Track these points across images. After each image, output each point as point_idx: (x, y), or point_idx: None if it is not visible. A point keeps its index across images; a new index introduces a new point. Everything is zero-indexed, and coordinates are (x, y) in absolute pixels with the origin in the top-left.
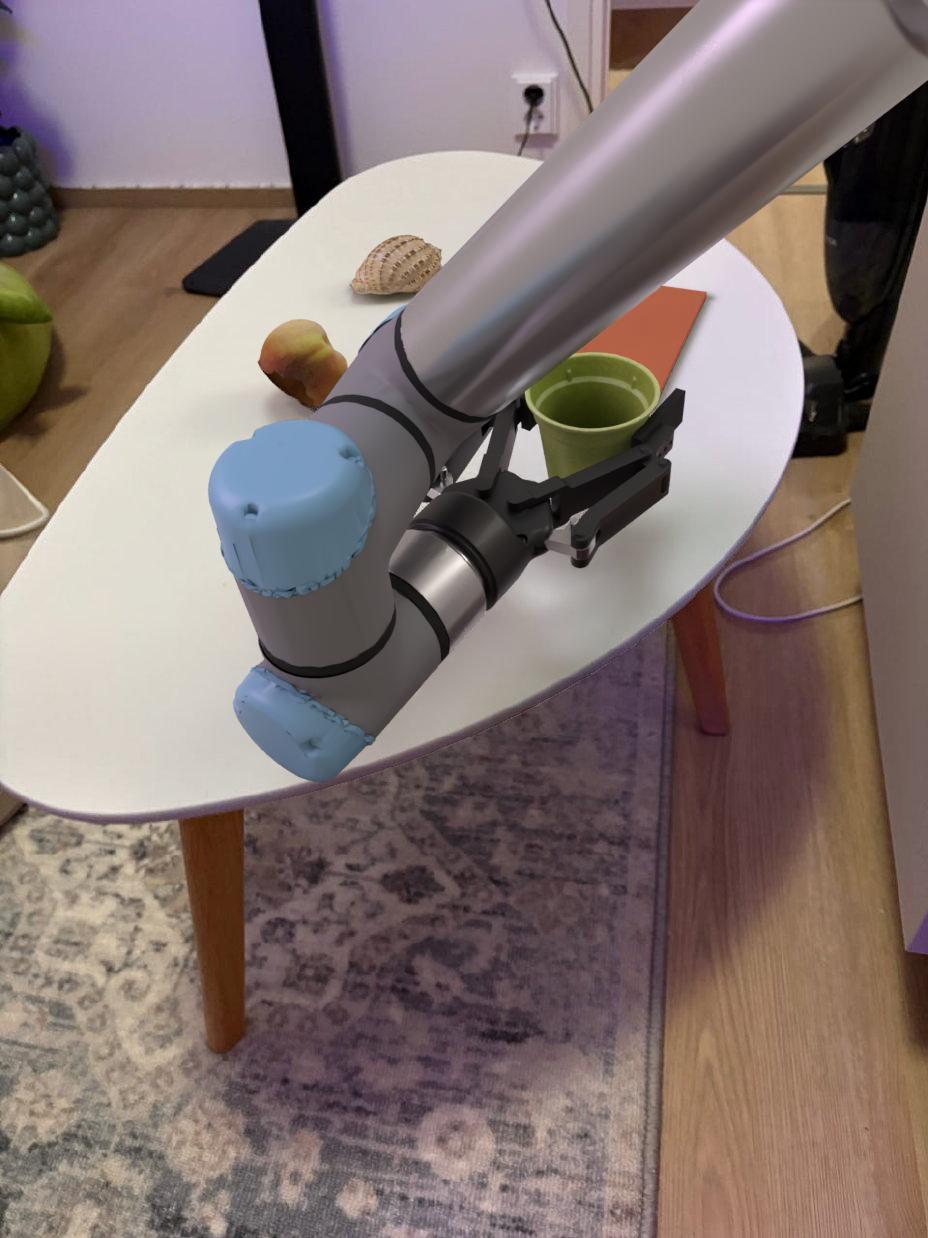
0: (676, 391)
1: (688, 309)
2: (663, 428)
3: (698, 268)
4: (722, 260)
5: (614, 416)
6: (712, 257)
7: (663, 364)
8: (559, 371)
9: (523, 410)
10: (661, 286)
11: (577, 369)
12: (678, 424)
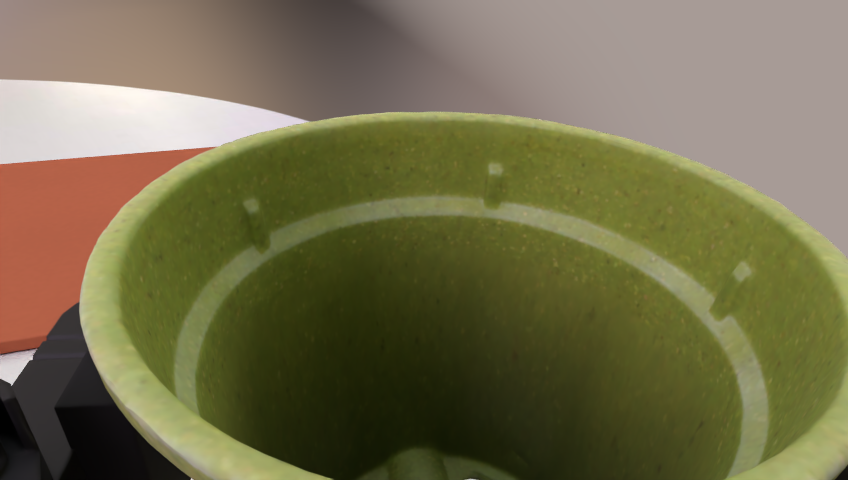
0: None
1: None
2: None
3: (246, 128)
4: (268, 117)
5: (430, 321)
6: (254, 117)
7: None
8: (217, 214)
9: (102, 466)
10: (215, 147)
11: (279, 195)
12: None
